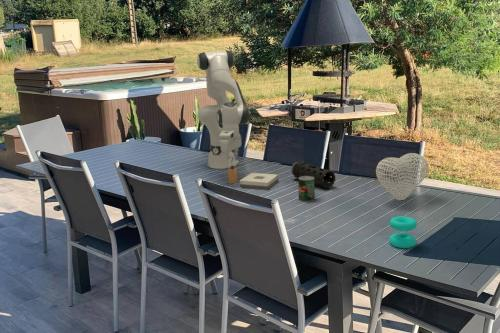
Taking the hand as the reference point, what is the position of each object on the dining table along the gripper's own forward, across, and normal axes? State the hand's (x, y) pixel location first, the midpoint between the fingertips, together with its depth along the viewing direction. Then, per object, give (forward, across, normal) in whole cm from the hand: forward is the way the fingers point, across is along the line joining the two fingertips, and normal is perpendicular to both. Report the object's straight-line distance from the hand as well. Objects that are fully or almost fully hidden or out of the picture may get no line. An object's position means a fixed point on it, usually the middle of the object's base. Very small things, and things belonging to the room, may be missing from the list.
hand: (232, 157), depth 289 cm
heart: (+16, +6, +92) cm, 93 cm away
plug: (+14, 0, 0) cm, 14 cm away
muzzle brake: (+15, -11, +42) cm, 46 cm away
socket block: (+15, -1, +16) cm, 21 cm away
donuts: (+17, +61, +98) cm, 117 cm away
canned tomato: (+16, +17, +48) cm, 53 cm away
